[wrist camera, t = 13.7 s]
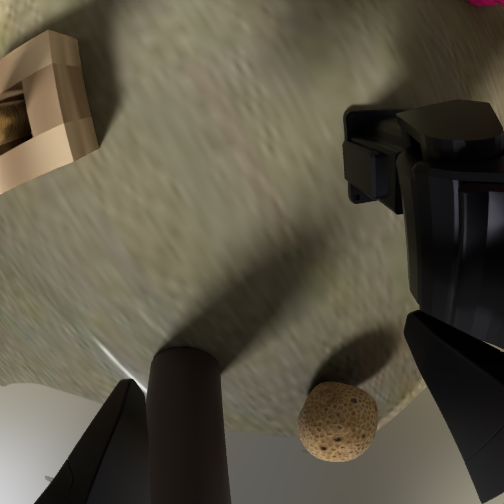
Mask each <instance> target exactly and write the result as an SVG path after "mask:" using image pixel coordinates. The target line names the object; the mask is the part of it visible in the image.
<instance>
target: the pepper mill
mask: <svg viewBox="0 0 504 504" xmlns="http://www.w3.org/2000/svg"><path fill="white" fill-rule="evenodd" d="M467 1H469V2H470V3H472V4H473V5H476V6H491V5H495V4H497V3H498V4H500V5H502V6H503V7H504V0H467Z"/></svg>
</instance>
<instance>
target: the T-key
mask: <svg viewBox="0 0 504 504" xmlns="http://www.w3.org/2000/svg"><path fill="white" fill-rule="evenodd" d="M30 134H32V131H31V126H30V122H29V117H28V113H27V108H26V103H25V100H19V101H13V102H7V103H2V104H0V145H3V144H5V143H8V142H11V141H13V140H16V139H19V138H22V137H25V136H28V135H30Z"/></svg>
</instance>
